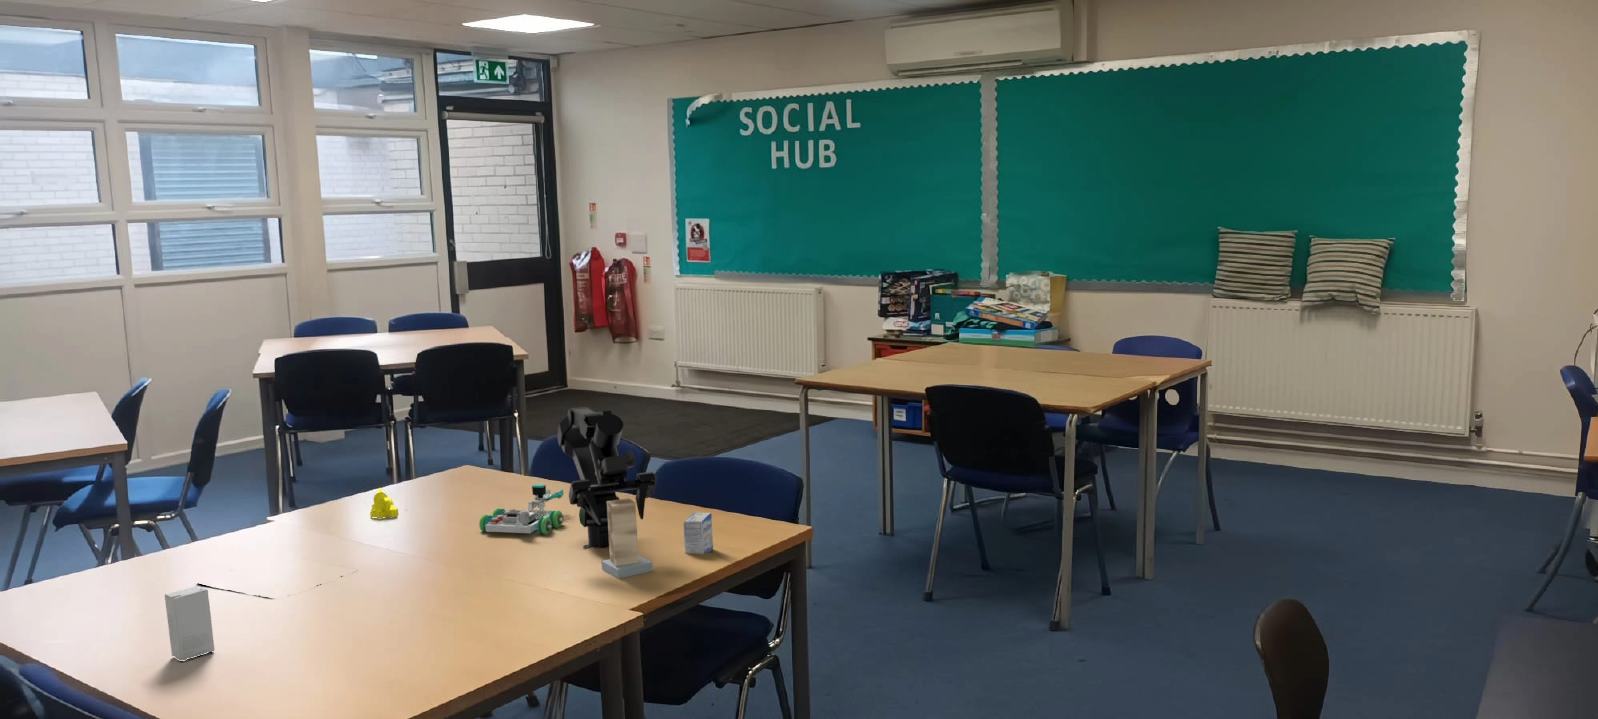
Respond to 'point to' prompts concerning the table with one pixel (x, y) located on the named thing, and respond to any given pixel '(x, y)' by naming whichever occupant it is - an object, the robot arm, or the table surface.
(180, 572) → the table surface
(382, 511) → the yellow lumpy cone
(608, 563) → the tower top slab
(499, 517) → the robot kit
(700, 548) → the medicine box
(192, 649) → the skincare box
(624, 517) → the tall beech block
